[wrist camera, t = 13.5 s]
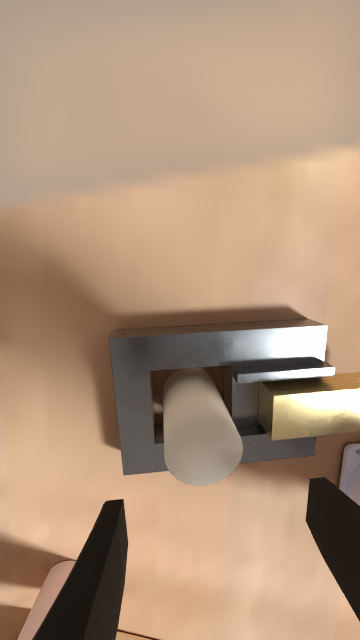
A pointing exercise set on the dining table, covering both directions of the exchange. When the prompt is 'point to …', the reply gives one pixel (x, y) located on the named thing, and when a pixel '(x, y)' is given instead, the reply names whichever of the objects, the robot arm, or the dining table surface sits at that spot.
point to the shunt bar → (310, 406)
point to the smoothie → (46, 598)
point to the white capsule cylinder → (198, 430)
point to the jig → (239, 380)
